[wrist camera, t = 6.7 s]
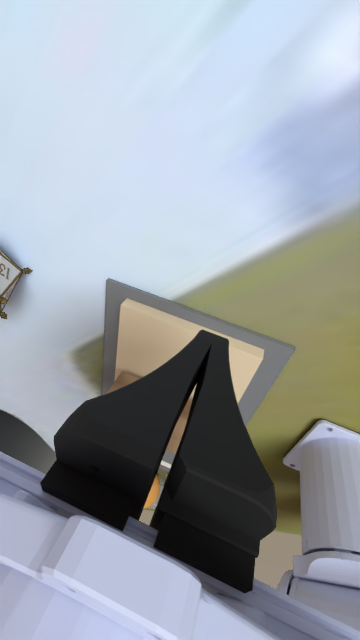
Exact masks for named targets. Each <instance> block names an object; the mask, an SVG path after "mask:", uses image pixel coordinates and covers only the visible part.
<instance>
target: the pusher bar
mask: <svg viewBox="0 0 360 640" xmlns="http://www.w3.org/2000/svg"><path fill="white" fill-rule="evenodd" d="M138 379H140V378H137V377H135V376H132V375H130V374H128V373H125V372H123V371H122V372H121V373H120V375H119V376H118V378H117V379H116V380H115V382H114V383H113V385H112V386H111V388H110V389H109V390H108V392H107V393H110V392H112V391H115V390H117V389H119V388H121V387H124V386H126V385H128V384H130V383H132V382H134V381H136V380H138ZM107 393H106V394H107ZM191 403H192V400H190V399H188V401H187V403H186V405H185V407H184V409H183V411H182V413H181V415H180V417H179V419H178V422H177V424H176V426H175V428H174V431H173V433H172V436H171V438H170V441H169V443H168V446H167V448H166V450H168V451H170V452H172V453H174V454H176V452H177V449H178V446H179V443H180V441H181V438H182V435H183V432H184V429H185V426H186V422H187V418H188V415H189V411H190V407H191Z"/></svg>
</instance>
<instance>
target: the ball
mask: <svg viewBox="0 0 360 640" xmlns="http://www.w3.org/2000/svg"><path fill="white" fill-rule="evenodd" d="M159 492H160V481H159V478H158V476H157V474H156V477H155V479H154V482H153V485H152V487H151V490H150V492H149V495H148V497H147V500H146V503H145V505H144V508H143V509H146V508H148V507H150V506H151V505H152V504H153V503H154V502H155V501H156V500H157V498H158V496H159Z"/></svg>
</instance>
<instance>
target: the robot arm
mask: <svg viewBox="0 0 360 640" xmlns="http://www.w3.org/2000/svg"><path fill="white" fill-rule="evenodd" d="M196 383H197V384H196ZM195 385H196V388H195V392H194V396H193V399H192V403H191V407H190V411H189V415H188V418H187V422H186V426H185V429H184V432H183V435H182V438H181V441H180V443H179V446H178V449H177V452H176V454H175V457H174V460H173V463H172V465H171V468H170V471H169V474H168V476H167V479H166V482H165V484H164V487H163V490H162V493H161V495H160V498H159V501H158V504H157V506H156V509H155V512H154V515H153V517H152V520H151V523H150V525H149V526H148V525H146V524H144V523H142V522H140V521H139V518H140V516H141V513H142V510H143V508H144V505H145V503H146V500H147V497H148V495H149V492H150V490H151V487H152V485H153V482H154V479H155V477H156V474H157V472H158V469H159V467H160V464H161V461H162V459H163V456H164V454H165V451H166V448H167V446H168V443H169V441H170V438H171V436H172V433H173V431H174V428H175V426H176V424H177V422H178V419H179V417H180V415H181V413H182V411H183V409H184V407H185V405H186V403H187V401H188V399H189V397H190V395H191V393H192V391H193V389H194V387H195ZM54 446H55V452H56V457H57V460H56V461H55V463H54V464H53V466H52V467H51V468H50V470H49V471H48V473H47V474H44V473H42V472H40V471H38V470H36V469H34V468H32V467H30V466H28V465H26V464H24V463H22V462H20V461H18V460H16V459H14V458H12V457H10V456H8V455H6V454H3V453H2V452H0V640H360V434H358V433H356V432H353V431H351V430H348V429H346V428H343V427H340V426H338V425H335V424H333V423H330V422H328V421H325V420H319V421H318V422H317V423H316V424H315V425H314V426H313V427H312V428H311V429H310V430H309V431H308V432H307V433H306V434H305V436H304V437H303V438H302V439H301V440H300V441H299V442H298V443H297V444H296V445H295V446H294V447H293V448H292V449H291V451H290V452H289V453H288V454H287V455H286V456H285V457H284V458H283V464H284V465H286V466H288V467H291V468H293V469H295V470H298V471H300V498H301V536H302V555H294V556H293V570H288V571H286V572H285V573H284V575H283V576H282V578H281V580H280V582H279V584H278V586H277V589H275V588H273V587H271V586H269V585H267V584H265V583H263V582H261V581H259V580H257V579H255V578H254V566H255V558H257V557H258V555H259V545H260V540H261V539H263V538H264V537H266V536H267V535H268V534H270V533H271V532H272V531H273V530H274V529H275V528H276V520H277V508H276V497H275V489H274V484H273V482H272V481H271V479H270V477H269V475H268V473H267V472H266V470H265V468H264V466H263V464H262V462H261V460H260V458H259V456H258V454H257V452H256V450H255V448H254V446H253V444H252V441H251V439H250V436H249V434H248V432H247V429H246V427H245V424H244V422H243V419H242V416H241V413H240V410H239V407H238V403H237V400H236V396H235V392H234V387H233V383H232V377H231V370H230V362H229V340H228V339H227V338H224V337H221V336H219V335H216V334H213V333H211V332H208V331H205V330H200V331H199V332H198V334H197V335H196V336H195V337H194V338H193V339H192V340H191V341H190V342H189V343H188V344H187V345H186V346H185V347H184V348H183V349H182V350H181V351H180V352H179V353H177V354H176V355H175V356H174V357H172V358H171V359H170V360H168V361H167V362H166V363H164V364H163V365H161V366H160V367H159V368H157V369H155V370H154V371H152V372H151V373H149V374H147V375H145V376H144V377H142V378H140V379H138V380H136V381H134V382H132V383H130V384H128V385H126V386H124V387H121V388H119V389H117V390H115V391H112V392H110V393H107V394H104V395H102V396H99V397H96V398H93V399H90V400H87V401H85V402H84V403H83V404H82V405H81V406H80V407H78V408H77V409H76V410H75V411H74V412H73V413H72V414H71V415H70V416H69V418H68V419H67V420H66V421H65V423H64V424H63V425H62V426H61V428H60V429H59V430H58V432H57V433H56V434H55V436H54ZM57 514H58V515H57Z"/></svg>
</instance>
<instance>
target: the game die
mask: <svg viewBox="0 0 360 640" xmlns="http://www.w3.org/2000/svg"><path fill="white" fill-rule="evenodd" d="M31 271H33V270H31V269H28V268H24V269H20V268H19V267H18V266H17V265H16V264H15V263H14V262H13V261H12V260H11V259H10V258H9V257H8V256H7V255H5V254H4V253H3V252H2V251H1V250H0V316H1V318H4V319H7V314H5V312H2V310H3V308H4V307H5V305H6V304H7V301H8V299H9V297H10V295H11V293H12V291H13V289H14V287H15V285H16V283H17V282H18V280H19V278H20V276H21V274H22V273H25V274H26V273H28V274H29V273H30V272H31Z"/></svg>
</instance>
